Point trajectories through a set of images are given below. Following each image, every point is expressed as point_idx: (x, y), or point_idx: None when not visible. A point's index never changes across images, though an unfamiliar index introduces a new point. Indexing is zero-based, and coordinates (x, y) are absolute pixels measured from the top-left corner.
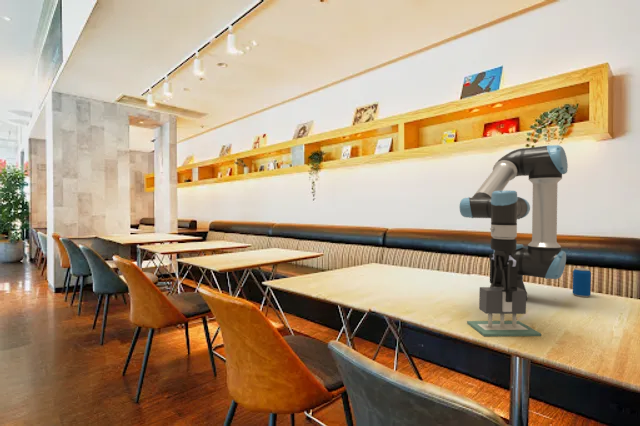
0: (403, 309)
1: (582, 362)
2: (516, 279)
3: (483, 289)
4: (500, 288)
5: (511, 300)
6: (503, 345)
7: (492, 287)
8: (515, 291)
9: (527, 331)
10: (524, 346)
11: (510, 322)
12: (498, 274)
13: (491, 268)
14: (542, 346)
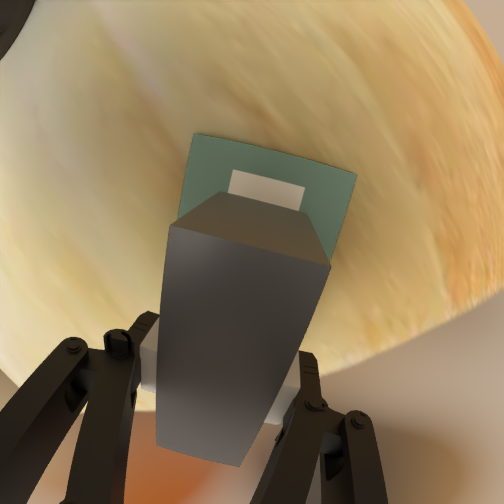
0: None
1: (501, 248)
2: (381, 493)
3: (203, 457)
4: (195, 394)
5: (315, 364)
6: (360, 355)
7: (163, 410)
8: (294, 353)
9: (322, 210)
10: (393, 309)
11: (205, 189)
12: (121, 465)
13: (41, 467)
14: (417, 257)
